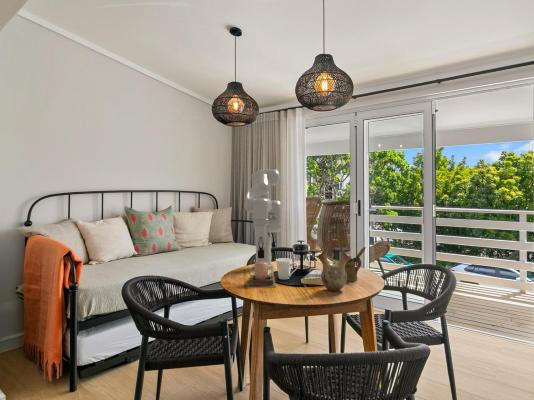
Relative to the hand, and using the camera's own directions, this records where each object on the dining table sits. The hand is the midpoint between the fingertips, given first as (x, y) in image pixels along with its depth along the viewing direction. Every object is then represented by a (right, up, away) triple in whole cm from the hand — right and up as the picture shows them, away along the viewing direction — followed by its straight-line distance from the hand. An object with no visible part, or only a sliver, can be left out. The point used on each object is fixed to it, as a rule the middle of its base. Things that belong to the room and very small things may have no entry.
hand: (261, 256), depth 169 cm
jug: (+2, -13, +1) cm, 13 cm away
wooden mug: (+49, -14, +9) cm, 52 cm away
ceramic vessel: (+35, -15, -9) cm, 39 cm away
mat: (+16, -15, +1) cm, 22 cm away
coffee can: (+47, -14, +26) cm, 56 cm away
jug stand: (0, -15, +1) cm, 15 cm away
